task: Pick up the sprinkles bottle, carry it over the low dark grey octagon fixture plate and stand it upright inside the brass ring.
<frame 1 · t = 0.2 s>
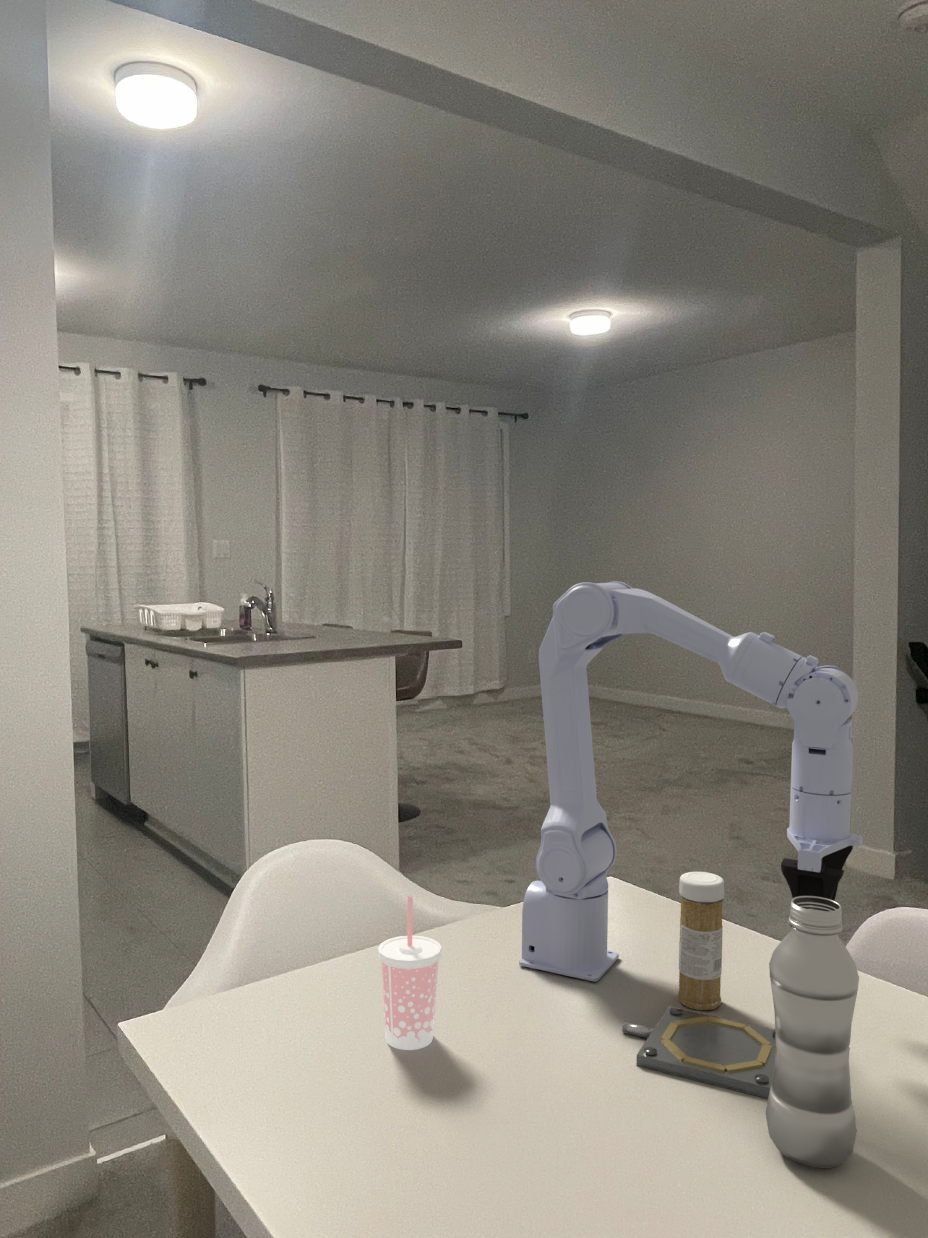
hand: (816, 921, 97), 10 cm above the table, tool pointing down, fingers open, 7 cm apart
beverage cup: (409, 1040, 93), on the table
sprinkles bottle: (699, 1004, 101), on the table
plastic bottle: (809, 1156, 75), on the table
octagon fixture plate: (715, 1054, 91), on the table
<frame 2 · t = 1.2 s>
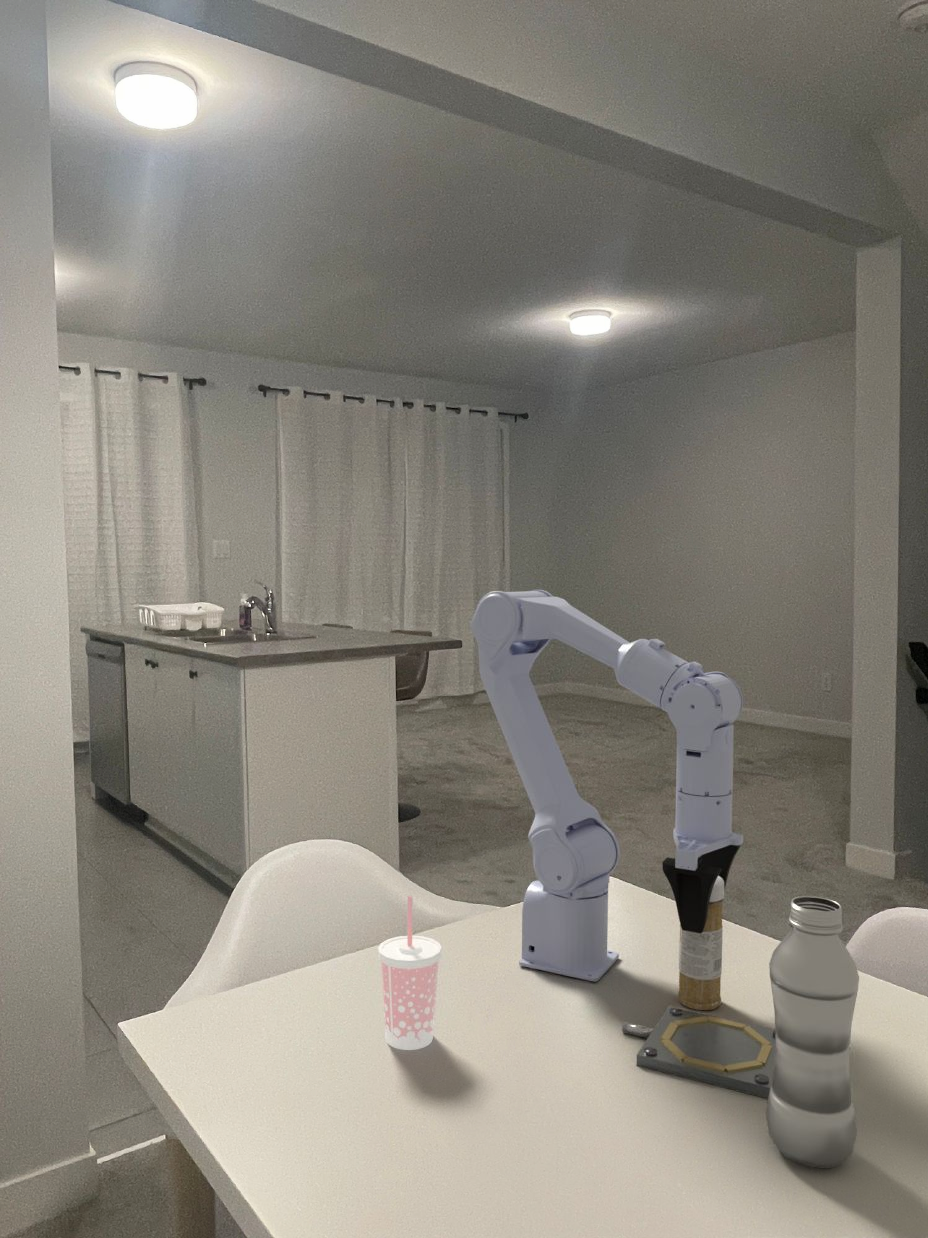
hand: (701, 918, 101), 9 cm above the table, tool pointing down, fingers open, 7 cm apart
nothing on the table moved.
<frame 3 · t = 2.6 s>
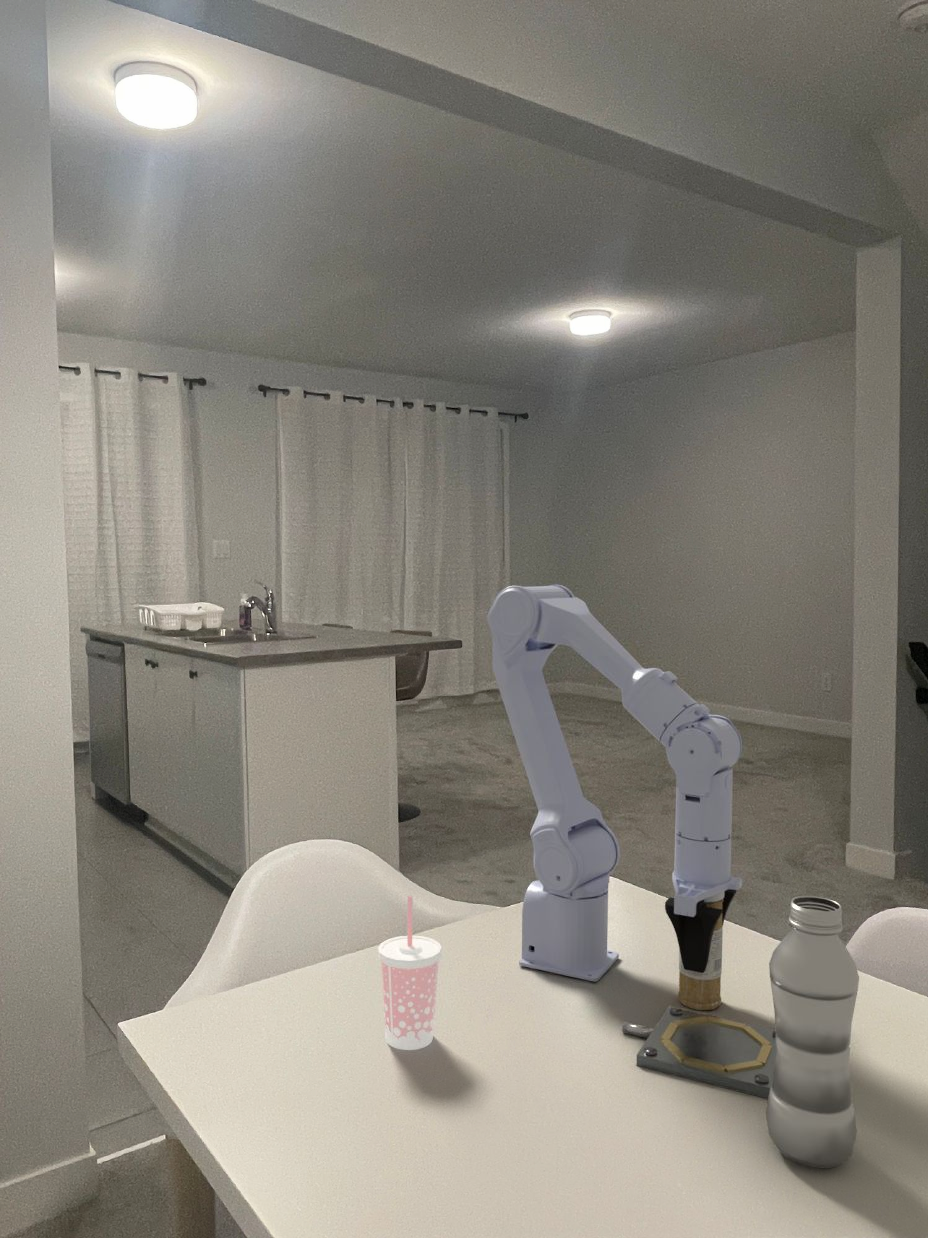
hand: (700, 961, 101), 4 cm above the table, tool pointing down, fingers closed on sprinkles bottle, 4 cm apart
sprinkles bottle: (699, 1004, 101), on the table, touching gripper
everything else where it was.
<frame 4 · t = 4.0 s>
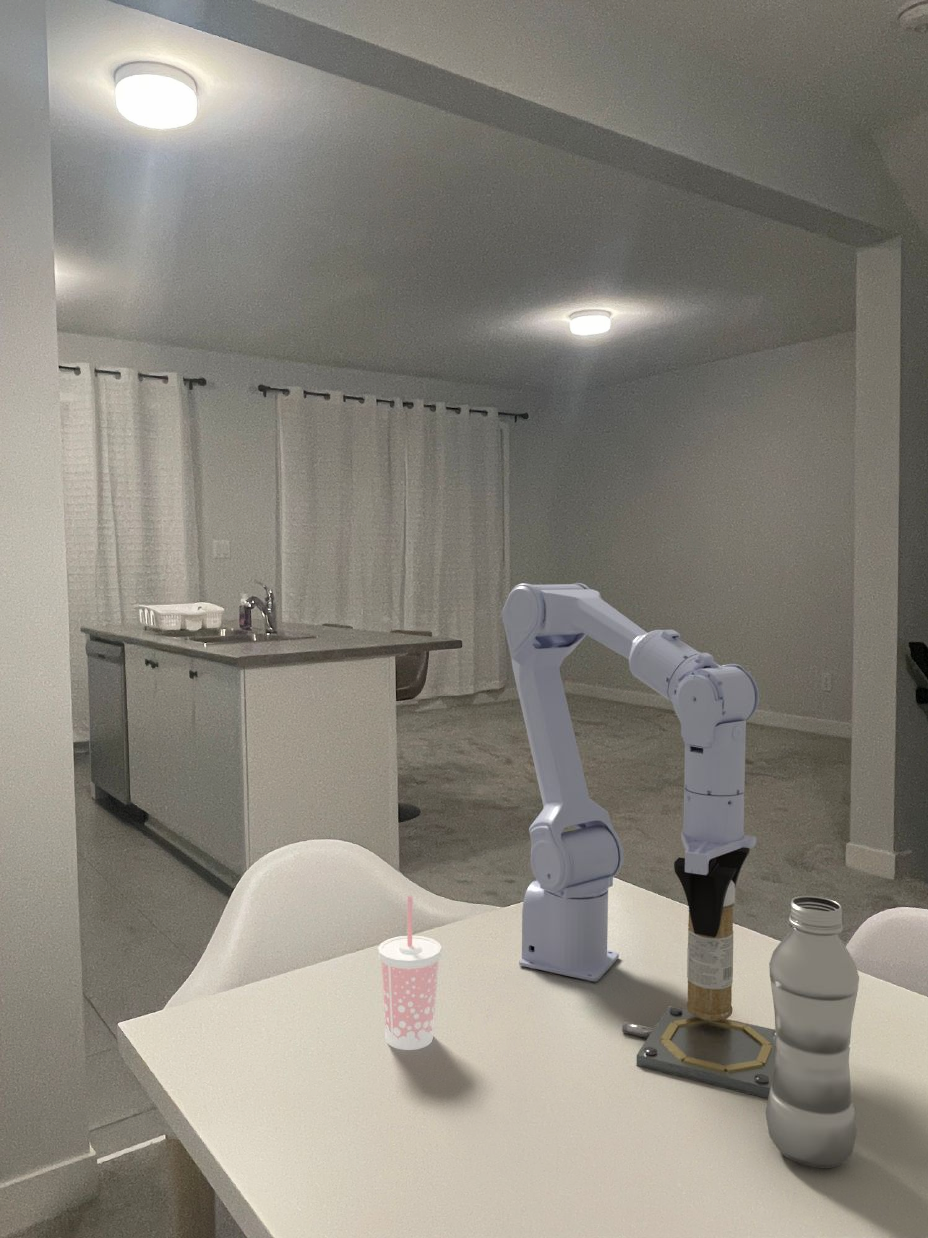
hand: (711, 926, 95), 10 cm above the table, tool pointing down, fingers closed on sprinkles bottle, 4 cm apart
sprinkles bottle: (709, 1014, 96), point 1 cm above the table, touching gripper
everything else where it was.
when the fingers open (7 cm above the table, at t = 4.9 s): sprinkles bottle stays where it is, resting on octagon fixture plate.
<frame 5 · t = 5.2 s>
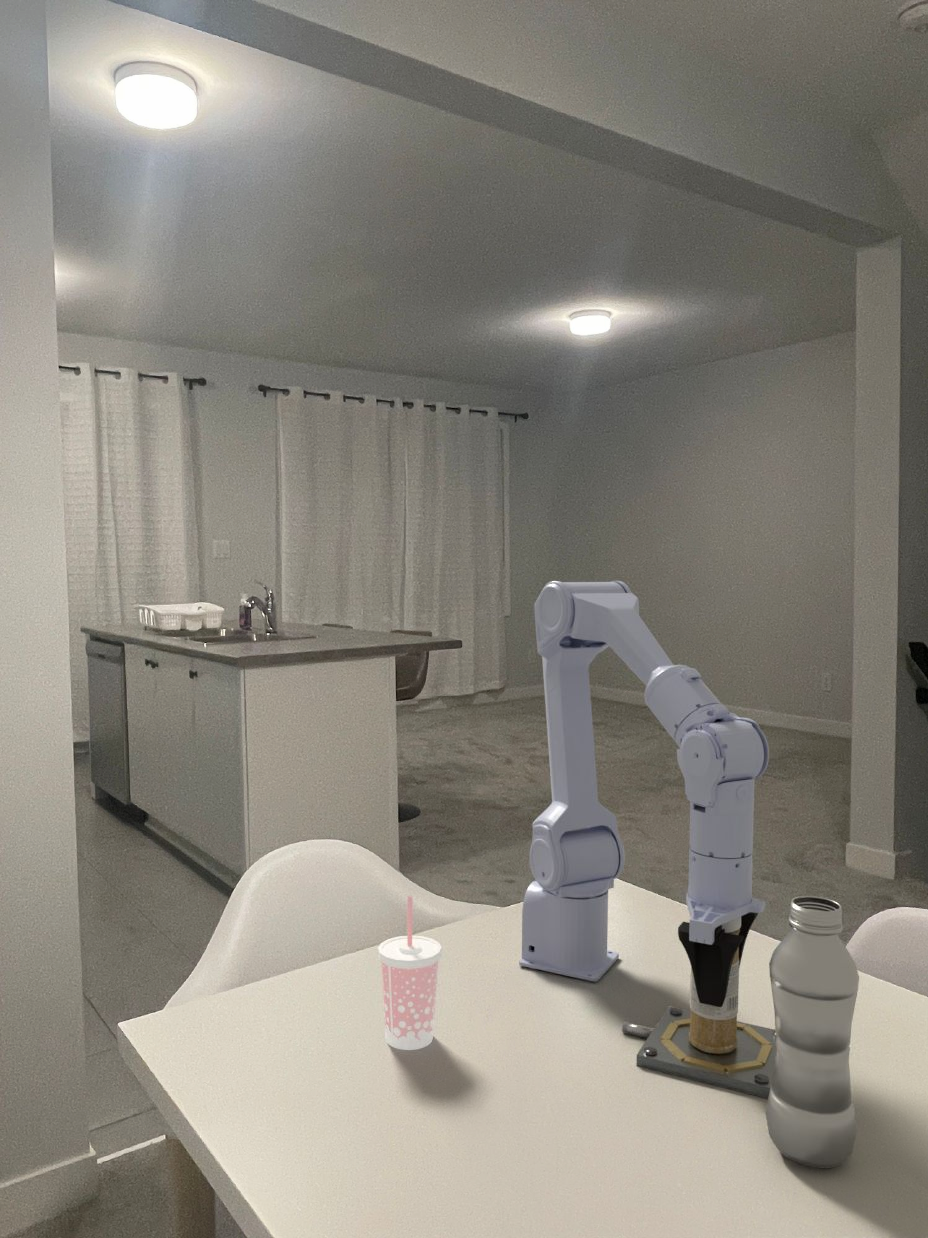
hand: (717, 992, 90), 6 cm above the table, tool pointing down, fingers open, 5 cm apart
sprinkles bottle: (712, 1046, 91), point 1 cm above the table, touching octagon fixture plate, gripper
everything else where it was.
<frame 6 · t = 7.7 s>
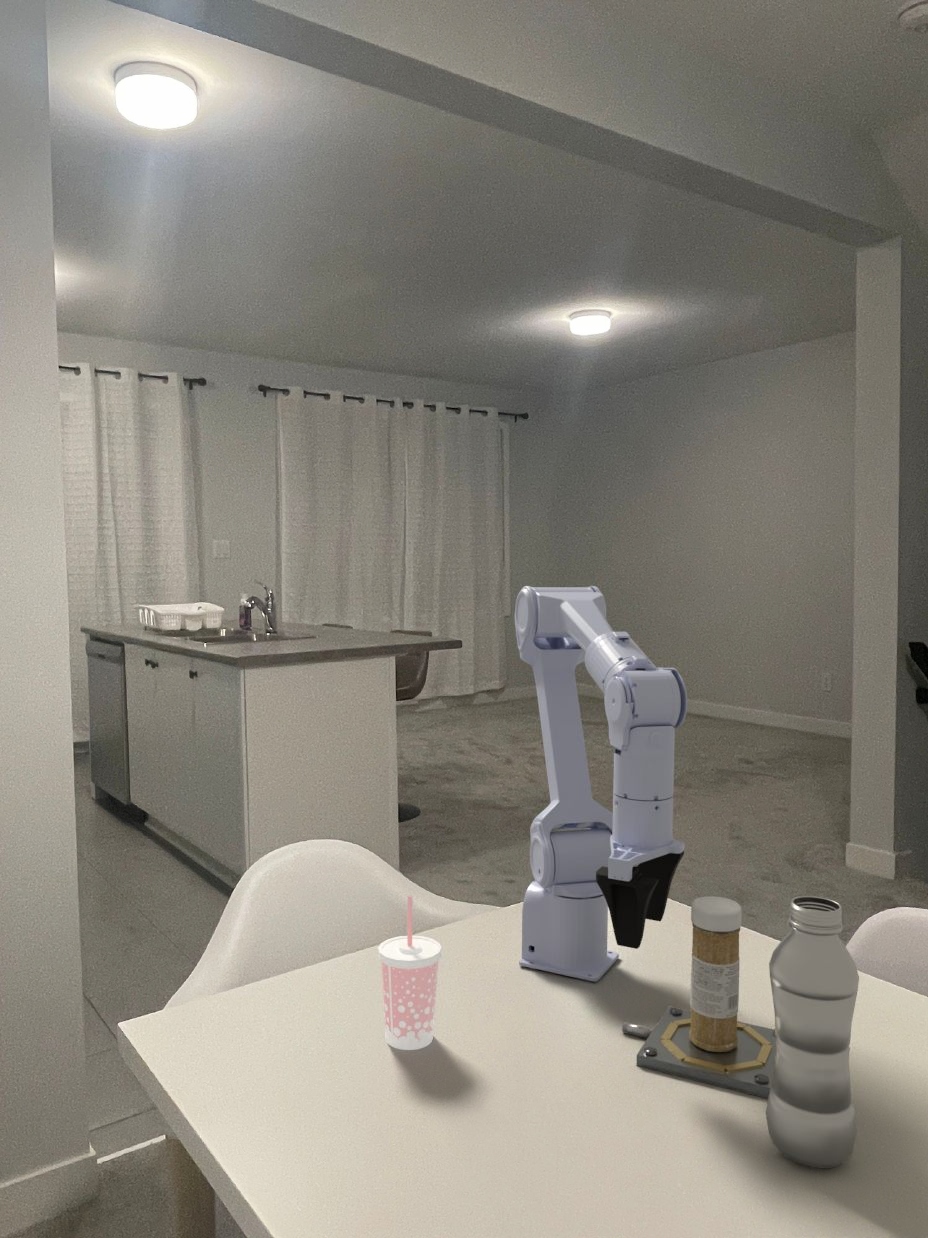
hand: (640, 932, 94), 10 cm above the table, tool pointing down, fingers open, 7 cm apart
sprinkles bottle: (713, 1044, 91), point 1 cm above the table, touching octagon fixture plate
everything else where it was.
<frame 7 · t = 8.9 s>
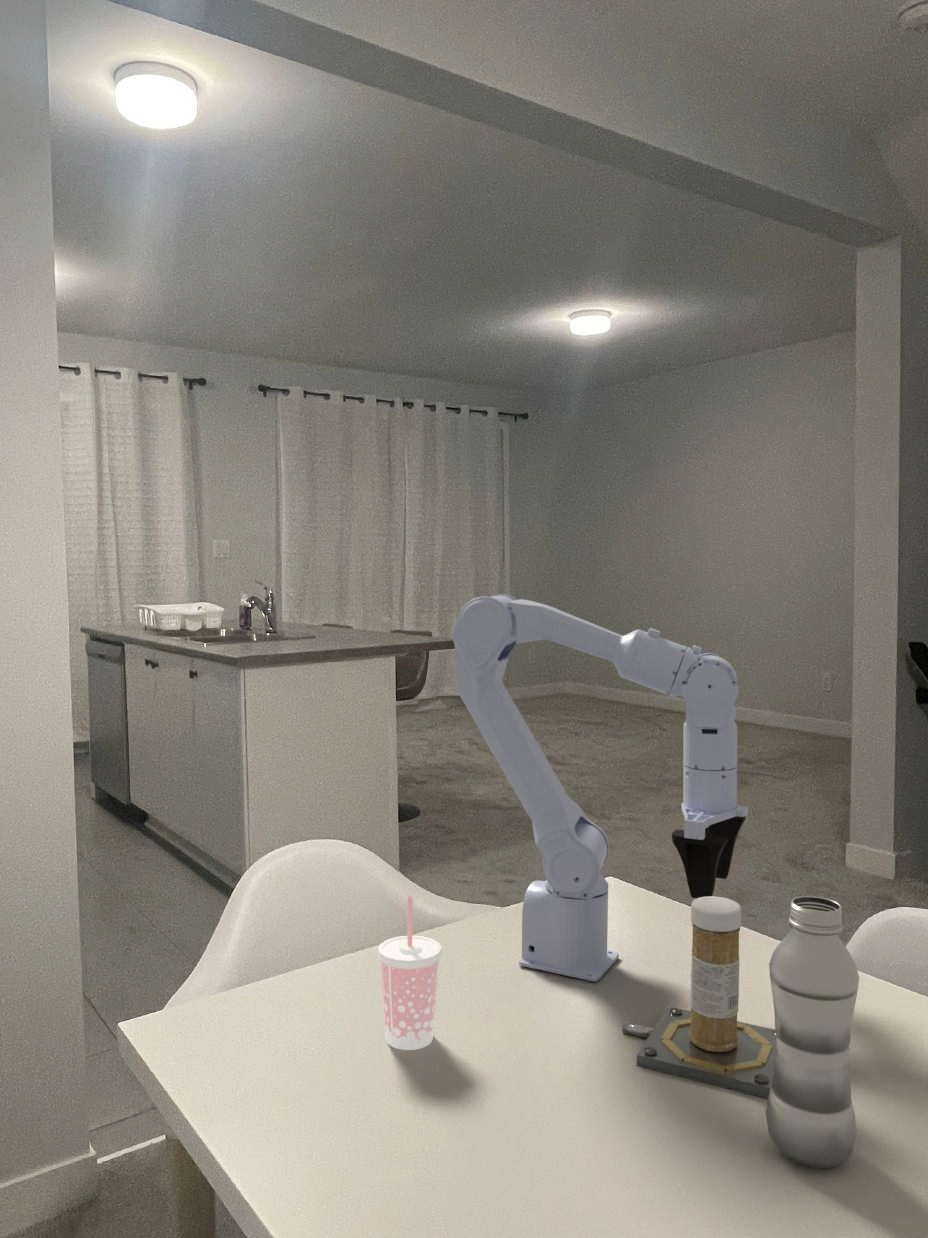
hand: (709, 887, 106), 10 cm above the table, tool pointing down, fingers open, 7 cm apart
nothing on the table moved.
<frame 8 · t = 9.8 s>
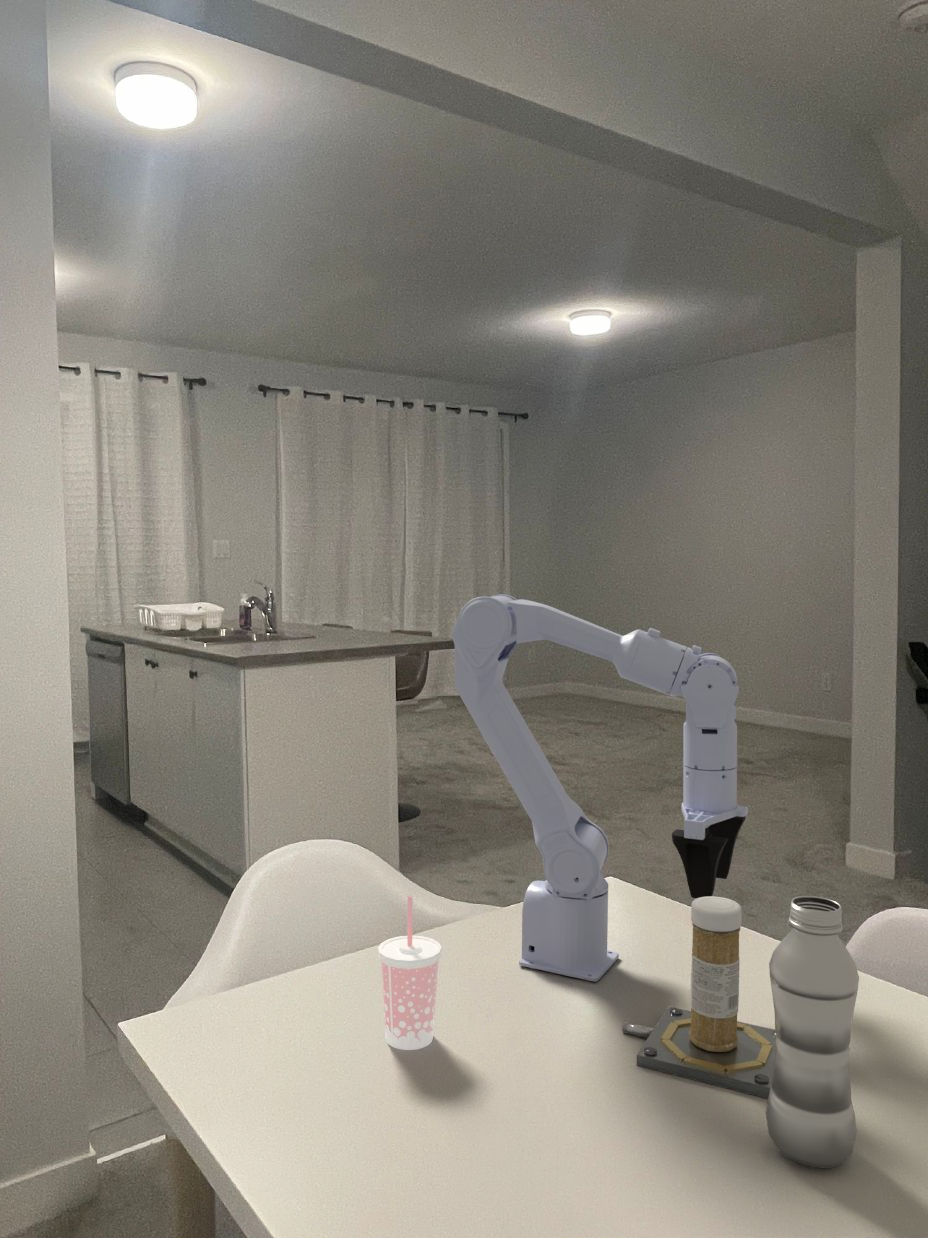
hand: (709, 887, 106), 10 cm above the table, tool pointing down, fingers open, 7 cm apart
nothing on the table moved.
at the end: sprinkles bottle 0.3 cm off-centre on the octagon fixture plate, point 0.8 cm above the octagon fixture plate's base; sprinkles bottle tilted 0°; the gripper is holding nothing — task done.
